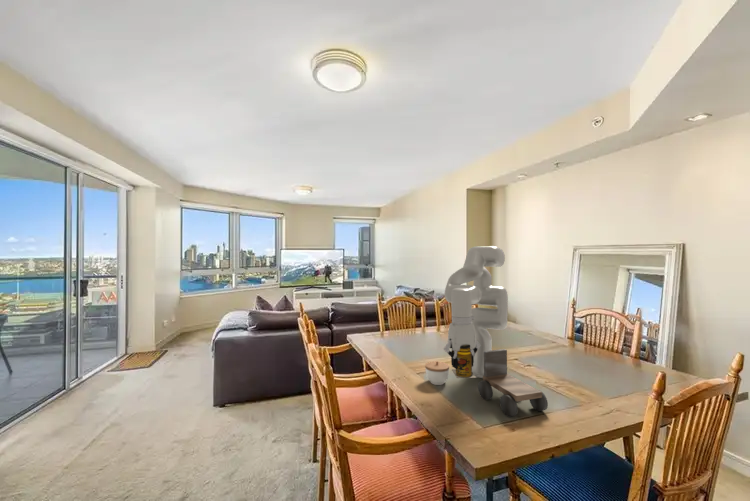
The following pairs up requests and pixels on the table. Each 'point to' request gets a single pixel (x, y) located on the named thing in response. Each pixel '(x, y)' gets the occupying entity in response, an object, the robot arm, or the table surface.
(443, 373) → the lidded jar
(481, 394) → the trolley
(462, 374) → the condiment
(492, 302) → the robot arm
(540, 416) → the table surface
